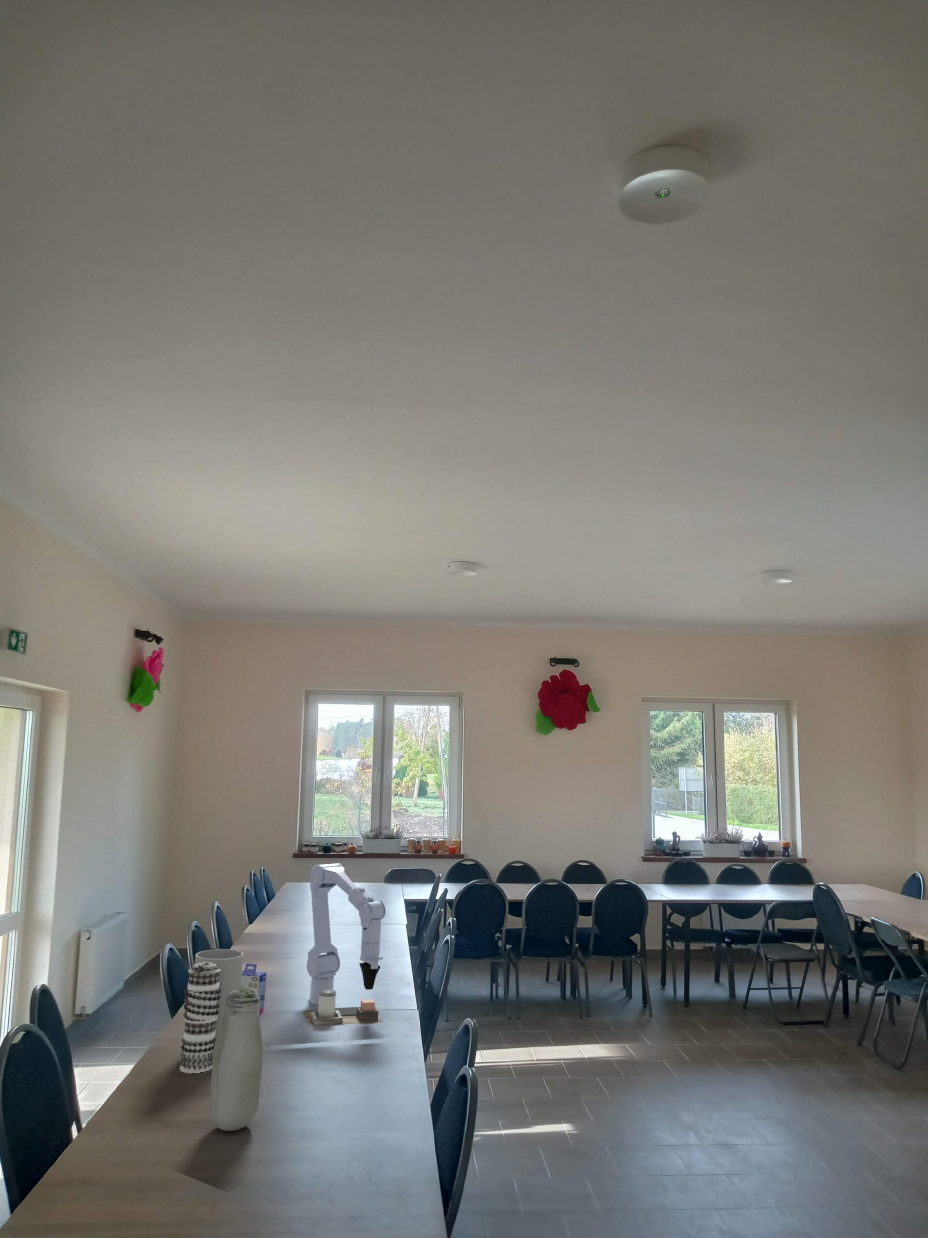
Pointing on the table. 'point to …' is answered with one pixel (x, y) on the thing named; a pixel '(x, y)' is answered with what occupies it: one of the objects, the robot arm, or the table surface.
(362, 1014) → the base board
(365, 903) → the robot arm
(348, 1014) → the rubber mat
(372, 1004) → the peach square block
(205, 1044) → the decorative candle
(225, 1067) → the glass bottle
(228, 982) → the cylinder vase
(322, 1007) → the cylinder
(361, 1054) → the table surface
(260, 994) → the ink cartridge box
